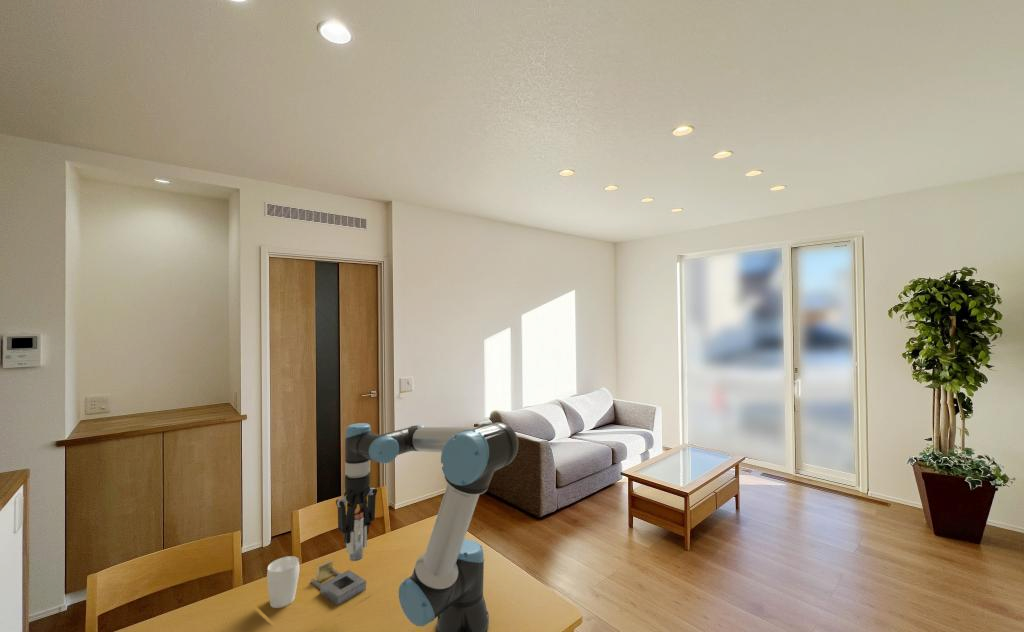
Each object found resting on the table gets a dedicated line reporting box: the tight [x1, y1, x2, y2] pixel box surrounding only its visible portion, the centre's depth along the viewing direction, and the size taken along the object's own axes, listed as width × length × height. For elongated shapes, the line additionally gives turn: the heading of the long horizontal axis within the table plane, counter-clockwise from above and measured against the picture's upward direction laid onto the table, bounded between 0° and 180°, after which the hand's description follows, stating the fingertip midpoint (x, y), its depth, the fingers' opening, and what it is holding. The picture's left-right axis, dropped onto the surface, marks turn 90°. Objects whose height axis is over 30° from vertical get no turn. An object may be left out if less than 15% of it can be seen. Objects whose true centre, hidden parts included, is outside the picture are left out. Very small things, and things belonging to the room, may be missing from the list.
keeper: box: [315, 559, 334, 583], centre depth 140 cm, size 2×5×5 cm, turn 144°
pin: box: [349, 509, 364, 562], centre depth 128 cm, size 4×4×14 cm
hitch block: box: [310, 568, 367, 606], centre depth 136 cm, size 18×14×3 cm
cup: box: [266, 555, 301, 609], centre depth 128 cm, size 9×9×12 cm
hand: (356, 549), depth 128 cm, fingers closed on pin, 4 cm apart
